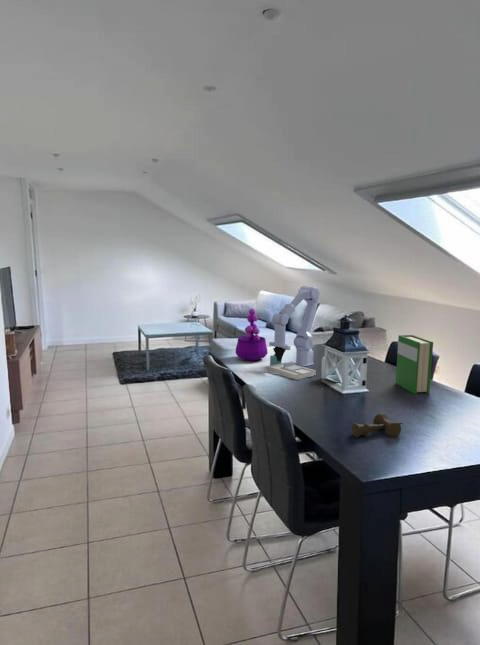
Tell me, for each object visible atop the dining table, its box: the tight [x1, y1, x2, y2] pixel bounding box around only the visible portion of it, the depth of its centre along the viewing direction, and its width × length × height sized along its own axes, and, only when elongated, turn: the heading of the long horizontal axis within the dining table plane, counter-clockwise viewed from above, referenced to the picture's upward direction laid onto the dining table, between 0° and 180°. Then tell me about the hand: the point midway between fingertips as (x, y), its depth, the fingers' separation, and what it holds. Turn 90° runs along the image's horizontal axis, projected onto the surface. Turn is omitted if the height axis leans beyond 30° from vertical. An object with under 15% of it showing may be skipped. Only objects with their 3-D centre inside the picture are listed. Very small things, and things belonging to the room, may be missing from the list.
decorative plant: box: [235, 308, 268, 361], centre depth 280 cm, size 19×18×30 cm
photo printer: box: [320, 355, 326, 380], centre depth 238 cm, size 10×4×12 cm, turn 39°
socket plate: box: [266, 362, 317, 380], centre depth 251 cm, size 14×24×3 cm, turn 38°
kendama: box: [350, 413, 403, 438], centre depth 171 cm, size 6×10×20 cm
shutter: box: [283, 361, 302, 370], centre depth 251 cm, size 7×7×2 cm
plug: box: [269, 353, 282, 366], centre depth 265 cm, size 4×4×7 cm
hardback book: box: [395, 334, 434, 395], centre depth 226 cm, size 18×7×24 cm, turn 10°
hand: (279, 360), depth 259 cm, fingers closed
